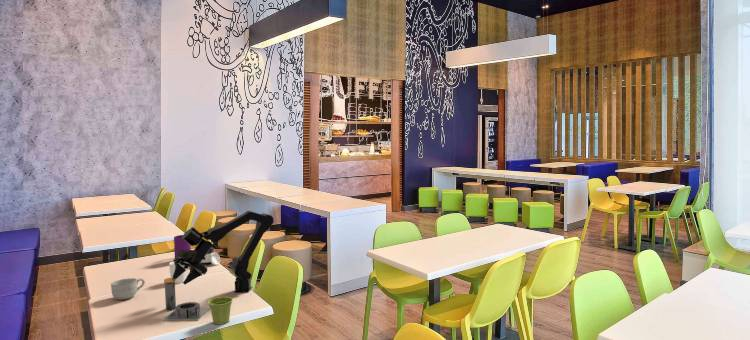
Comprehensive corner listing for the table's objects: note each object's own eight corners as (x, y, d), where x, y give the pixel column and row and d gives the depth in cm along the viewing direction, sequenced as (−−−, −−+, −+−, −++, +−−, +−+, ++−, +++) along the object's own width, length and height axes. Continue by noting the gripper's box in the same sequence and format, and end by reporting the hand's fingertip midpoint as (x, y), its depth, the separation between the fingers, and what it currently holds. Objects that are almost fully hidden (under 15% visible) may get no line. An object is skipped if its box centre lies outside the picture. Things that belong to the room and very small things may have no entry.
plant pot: (206, 320, 190) (205, 299, 190) (230, 315, 195) (229, 295, 194) (211, 328, 182) (210, 306, 181) (236, 323, 187) (235, 301, 186)
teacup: (111, 303, 211) (110, 285, 211) (112, 296, 221) (111, 279, 220) (145, 298, 218) (144, 281, 217) (145, 291, 227) (144, 275, 227)
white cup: (180, 284, 237) (179, 264, 236) (166, 283, 239) (165, 264, 238) (189, 279, 245) (189, 260, 244) (176, 278, 246) (175, 260, 246)
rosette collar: (210, 307, 204) (210, 300, 203) (197, 320, 190) (197, 312, 189) (178, 307, 204) (178, 300, 204) (163, 320, 190) (162, 312, 190)
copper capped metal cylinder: (178, 307, 205) (176, 277, 204) (173, 310, 201) (172, 280, 200) (168, 307, 206) (166, 277, 205) (163, 310, 201) (162, 280, 200)
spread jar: (203, 261, 280) (202, 242, 279) (222, 260, 281) (221, 241, 280) (197, 267, 268) (196, 246, 267) (218, 266, 269) (217, 246, 268)
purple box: (176, 264, 275) (175, 238, 274) (171, 258, 288) (170, 234, 287) (193, 261, 280) (192, 236, 279) (186, 256, 293) (185, 232, 292)
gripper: (176, 239, 214) (153, 268, 206) (200, 244, 203) (177, 276, 195) (193, 252, 221) (171, 281, 213) (216, 258, 210) (195, 289, 202)
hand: (178, 282), depth 206 cm, fingers open, 9 cm apart
